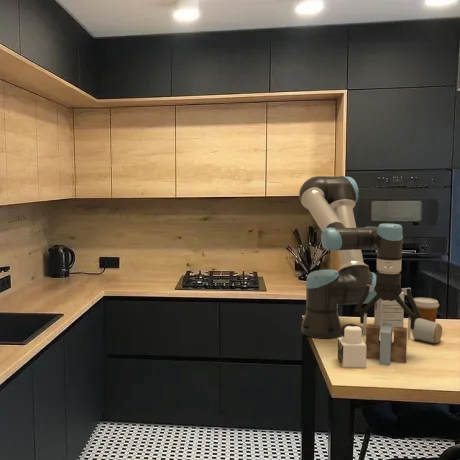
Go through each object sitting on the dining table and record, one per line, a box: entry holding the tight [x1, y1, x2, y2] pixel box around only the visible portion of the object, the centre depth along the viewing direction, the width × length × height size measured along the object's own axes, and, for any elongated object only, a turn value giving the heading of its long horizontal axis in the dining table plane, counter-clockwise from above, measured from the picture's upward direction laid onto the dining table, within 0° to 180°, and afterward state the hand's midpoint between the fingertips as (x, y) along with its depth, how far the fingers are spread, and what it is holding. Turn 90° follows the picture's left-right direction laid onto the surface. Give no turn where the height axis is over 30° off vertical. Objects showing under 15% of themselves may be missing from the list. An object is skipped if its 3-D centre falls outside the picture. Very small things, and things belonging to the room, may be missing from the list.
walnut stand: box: [365, 323, 408, 364], centre depth 142 cm, size 12×4×10 cm, turn 68°
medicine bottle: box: [337, 323, 367, 369], centre depth 138 cm, size 7×7×12 cm
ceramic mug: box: [412, 318, 443, 344], centre depth 160 cm, size 11×8×8 cm
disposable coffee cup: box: [413, 297, 440, 322], centre depth 170 cm, size 10×10×12 cm
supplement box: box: [373, 292, 405, 332], centre depth 175 cm, size 9×9×15 cm
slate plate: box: [379, 322, 393, 366], centre depth 142 cm, size 3×12×10 cm, turn 158°
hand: (386, 335), depth 147 cm, fingers open, 13 cm apart
